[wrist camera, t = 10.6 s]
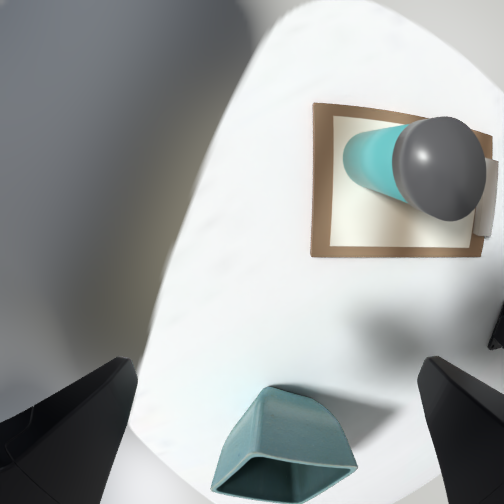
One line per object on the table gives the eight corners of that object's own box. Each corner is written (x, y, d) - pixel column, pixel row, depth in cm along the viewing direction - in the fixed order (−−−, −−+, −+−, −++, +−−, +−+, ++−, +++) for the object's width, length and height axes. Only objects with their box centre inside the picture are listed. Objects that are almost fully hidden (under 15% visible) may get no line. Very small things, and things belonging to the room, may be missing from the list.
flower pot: (343, 389, 24) (362, 468, 15) (296, 437, 26) (300, 506, 18) (257, 363, 23) (251, 452, 14) (221, 417, 26) (208, 491, 17)
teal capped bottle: (395, 134, 16) (486, 128, 7) (394, 190, 17) (481, 223, 8) (341, 127, 16) (409, 107, 7) (340, 187, 17) (406, 219, 9)
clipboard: (487, 136, 15) (498, 136, 14) (476, 254, 19) (485, 260, 17) (312, 104, 16) (316, 100, 15) (310, 254, 19) (313, 261, 18)
